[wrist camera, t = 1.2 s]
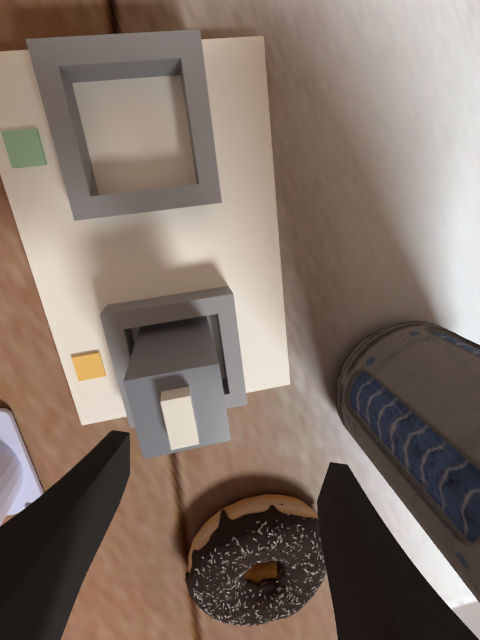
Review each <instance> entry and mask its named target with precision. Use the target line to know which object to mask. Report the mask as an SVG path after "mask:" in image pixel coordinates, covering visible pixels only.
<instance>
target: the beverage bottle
mask: <svg viewBox="0 0 480 640" xmlns="http://www.w3.org/2000/svg"><path fill="white" fill-rule="evenodd" d="M336 403H337V409H338V414H339V417H340V419H341V421H342V424H343V425H344V426H345V428H346V429H347V430H348V432H349V433H350V434H351V436H352V437H353V438H354V439H355V441H356V442H357V443H358V445H359V446H360V447H361V449H362V450H363V451H364V453H365V454H366V455H367V456H368V458H369V459H370V460H371V462H372V463H373V464H374V466H375V467H376V468H377V469H378V471H379V472H380V473H381V475H382V476H383V477H384V479H385V480H386V481H387V482H388V484H389V485H390V486H391V488H392V489H393V490H394V492H395V493H396V494H397V496H398V497H399V498H400V499H401V501H402V502H403V503H404V505H405V506H406V507H407V509H408V510H409V511H410V512H411V514H412V515H413V516H414V518H415V519H416V520H417V522H418V523H419V524H420V526H421V527H422V528H423V529H424V531H425V532H426V533H427V535H428V536H429V537H430V539H431V540H432V541H433V542H434V544H435V545H436V546H437V548H438V549H439V550H440V552H441V553H442V554H443V555H444V557H445V558H446V559H447V561H448V562H449V563H450V565H451V566H452V567H453V569H454V570H455V571H456V572H457V574H458V575H459V576H460V578H461V579H462V580H463V582H464V583H465V584H466V585H467V587H468V588H469V589H470V591H471V592H472V593H473V595H474V596H475V597H476V599H477V600H478V601H479V602H480V345H478V344H476V343H474V342H472V341H470V340H467V339H465V338H463V337H461V336H459V335H458V334H456V333H454V332H452V331H450V330H447V329H445V328H443V327H441V326H438V325H435V324H432V323H429V322H421V321H413V322H404V323H399V324H395V325H392V326H388V327H385V328H382V329H380V330H378V331H376V332H374V335H371V336H368V337H367V338H366V339H364V340H363V341H362V342H360V344H359V345H358V346H357V347H356V348H355V349H354V350H353V351H352V352H351V354H350V355H349V357H348V358H347V359H346V361H345V363H344V365H343V367H342V369H341V375H339V379H338V383H337V399H336Z"/></svg>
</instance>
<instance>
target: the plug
mask: <svg viewBox="0 0 480 640" xmlns="http://www.w3.org/2000/svg"><path fill="white" fill-rule="evenodd" d="M123 383H124V386H125V390H126V394H127V398H128V402H129V406H130V409H131V413H132V417H133V421H134V425H135V428H136V432H137V436H138V440H139V444H140V447H141V451H142V455H143V459H147V458H152V457H157V456H161V455H166V454H171V453H175V452H180V451H185V450H189V449H194V448H199V447H203V446H208V445H213V444H217V443H222V442H227V441H231V437H230V431H229V424H228V418H227V411H226V404H225V398H224V391H223V384H222V378H221V371H220V365H219V360H218V357H217V353H216V349H215V346H214V342H213V338H212V334H211V331H210V327H209V323H208V320H207V316H201V317H195V318H189V319H183V320H177V321H171V322H165V323H159V324H153V325H147V326H141V327H140V330H139V333H138V336H137V339H136V342H135V346H134V349H133V352H132V355H131V358H130V361H129V364H128V368H127V371H126V374H125V377H124V380H123Z"/></svg>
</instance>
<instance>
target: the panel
mask: <svg viewBox="0 0 480 640" xmlns="http://www.w3.org/2000/svg"><path fill="white" fill-rule="evenodd" d="M26 43H27V47H28V50H15V51H0V175H1V178H2V181H3V184H4V187H5V190H6V193H7V196H8V200H9V203H10V206H11V209H12V212H13V215H14V218H15V221H16V224H17V227H18V230H19V233H20V237H21V240H22V243H23V246H24V249H25V252H26V255H27V258H28V261H29V264H30V267H31V270H32V273H33V277H34V280H35V283H36V286H37V289H38V292H39V295H40V298H41V301H42V304H43V307H44V310H45V313H46V317H47V320H48V323H49V326H50V329H51V332H52V335H53V338H54V341H55V344H56V347H57V350H58V354H59V357H60V360H61V363H62V366H63V369H64V372H65V375H66V378H67V381H68V384H69V387H70V390H71V394H72V397H73V400H74V403H75V406H76V409H77V412H78V415H79V418H80V421H81V424H82V425H86V424H91V423H96V422H101V421H106V420H112V419H117V418H122V417H127V419H128V422H129V426H130V428H134V427H135V425H134V421H133V417H132V413H131V409H130V406H129V402H128V398H127V394H126V390H125V386H124V383H123V380H124V377H125V374H126V371H127V368H128V364H129V361H130V358H131V355H132V352H133V349H134V346H135V342H136V339H137V336H138V333H139V330H140V327H141V326H147V325H153V324H159V323H165V322H171V321H177V320H183V319H189V318H195V317H201V316H207V320H208V323H209V327H210V331H211V334H212V338H213V342H214V346H215V349H216V353H217V357H218V360H219V365H220V371H221V378H222V384H223V391H224V398H225V404H226V409H228V408H233V407H238V406H243V405H247V397H246V393H249V392H254V391H259V390H264V389H269V388H274V387H279V386H284V385H289V384H290V377H289V364H288V351H287V338H286V324H285V311H284V298H283V285H282V271H281V258H280V245H279V231H278V218H277V205H276V192H275V178H274V165H273V152H272V139H271V125H270V112H269V99H268V86H267V72H266V59H265V46H264V36H251V37H234V38H217V39H201V33H200V29H195V30H177V31H159V32H141V33H123V34H105V35H87V36H69V37H51V38H33V39H26Z"/></svg>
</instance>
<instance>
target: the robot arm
mask: <svg viewBox="0 0 480 640" xmlns="http://www.w3.org/2000/svg"><path fill="white" fill-rule="evenodd" d="M129 475H130V433H128V432H121V431H114V430H112V431H111V432H109V433H108V434H107V435H106V436H105V437H104V438H103V439H102V440H101V441H100V442H99V443H98V444H97V445H96V446H95V447H94V448H93V449H92V450H91V451H90V452H89V453H88V454H87V455H86V456H85V457H84V458H83V459H82V460H81V461H80V462H79V463H78V464H76V465H75V466H74V467H73V468H72V469H71V470H70V471H69V472H68V473H67V474H65V475H64V476H63V477H62V478H61V479H60V480H59V481H58V482H56V483H55V484H54V485H53V486H52V487H50V488H49V489H48V490H47V491H46V492H43V489H42V487H41V484H40V482H39V479H38V477H37V475H36V472H35V470H34V467H33V465H32V462H31V460H30V457H29V455H28V452H27V450H26V447H25V445H24V442H23V440H22V437H21V435H20V432H19V430H18V427H17V425H16V422H15V420H14V417H13V415H12V413H11V411H10V410H8V409H6V408H0V640H61V637H62V634H63V632H64V629H65V626H66V624H67V621H68V618H69V616H70V613H71V611H72V608H73V605H74V603H75V600H76V597H77V595H78V592H79V590H80V587H81V585H82V583H83V580H84V578H85V576H86V573H87V571H88V569H89V567H90V565H91V563H92V561H93V558H94V556H95V554H96V552H97V550H98V548H99V546H100V544H101V542H102V540H103V538H104V535H105V533H106V531H107V529H108V527H109V525H110V523H111V521H112V519H113V516H114V514H115V512H116V510H117V508H118V506H119V503H120V501H121V498H122V495H123V493H124V490H125V487H126V484H127V481H128V478H129ZM28 502H30V503H31V504H30V503H28ZM317 507H318V521H319V532H320V538H321V544H322V549H323V555H324V560H325V565H326V571H327V576H328V581H329V586H330V592H331V597H332V602H333V608H334V614H335V620H336V627H337V636H338V640H479V639H478V638H477V637H476V636H475V635H474V634H473V633H472V631H471V630H470V629H469V628H468V627H467V626H466V625H465V624H464V623H463V622H462V621H461V620H460V618H459V617H458V616H457V615H456V614H455V613H454V612H453V611H452V610H451V609H450V608H449V606H448V605H447V604H446V603H445V602H444V601H443V599H442V598H441V597H440V596H439V595H438V594H437V592H436V591H435V590H434V589H433V588H432V586H431V585H430V584H429V583H428V582H427V580H426V579H425V578H424V577H423V575H422V574H421V573H420V572H419V570H418V569H417V568H416V566H415V565H414V564H413V563H412V561H411V560H410V559H409V557H408V556H407V555H406V553H405V552H404V550H403V549H402V548H401V546H400V545H399V544H398V542H397V541H396V539H395V538H394V537H393V535H392V534H391V532H390V531H389V529H388V528H387V526H386V525H385V523H384V522H383V520H382V519H381V517H380V516H379V514H378V513H377V511H376V510H375V508H374V507H373V505H372V504H371V502H370V500H369V499H368V497H367V496H366V494H365V492H364V491H363V489H362V488H361V486H360V484H359V483H358V481H357V479H356V478H355V476H354V474H353V473H352V471H351V469H350V468H349V466H348V465H346V464H339V463H332V462H330V464H329V467H328V470H327V473H326V476H325V479H324V482H323V485H322V488H321V491H320V494H319V497H318V500H317ZM16 513H18V514H17V515H15V516H14V517H13V518H11V519H10V520H9V521H7V522H6V523H4V524H3V525H2V526H1V524H2V522H3V520H4V519H5V517H6V516H8V515H12V514H16Z"/></svg>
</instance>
